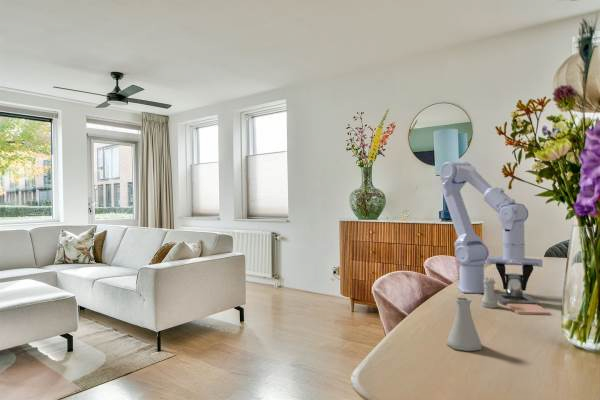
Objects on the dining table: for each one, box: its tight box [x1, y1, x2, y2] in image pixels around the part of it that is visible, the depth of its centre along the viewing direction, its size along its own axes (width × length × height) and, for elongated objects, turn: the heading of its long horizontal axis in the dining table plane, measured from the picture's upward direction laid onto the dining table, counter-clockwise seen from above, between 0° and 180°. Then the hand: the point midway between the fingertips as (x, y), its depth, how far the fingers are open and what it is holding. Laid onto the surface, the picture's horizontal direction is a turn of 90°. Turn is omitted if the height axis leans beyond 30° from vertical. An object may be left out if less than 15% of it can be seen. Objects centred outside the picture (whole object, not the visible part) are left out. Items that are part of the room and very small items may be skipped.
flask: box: [446, 296, 483, 352], centre depth 84 cm, size 7×7×10 cm
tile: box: [506, 304, 551, 316], centre depth 108 cm, size 8×8×1 cm
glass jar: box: [505, 272, 524, 297], centre depth 118 cm, size 5×5×6 cm
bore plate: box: [494, 293, 541, 306], centre depth 118 cm, size 10×10×1 cm
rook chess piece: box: [480, 277, 499, 309], centre depth 113 cm, size 4×4×8 cm
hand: (514, 289), depth 118 cm, fingers closed on glass jar, 4 cm apart
